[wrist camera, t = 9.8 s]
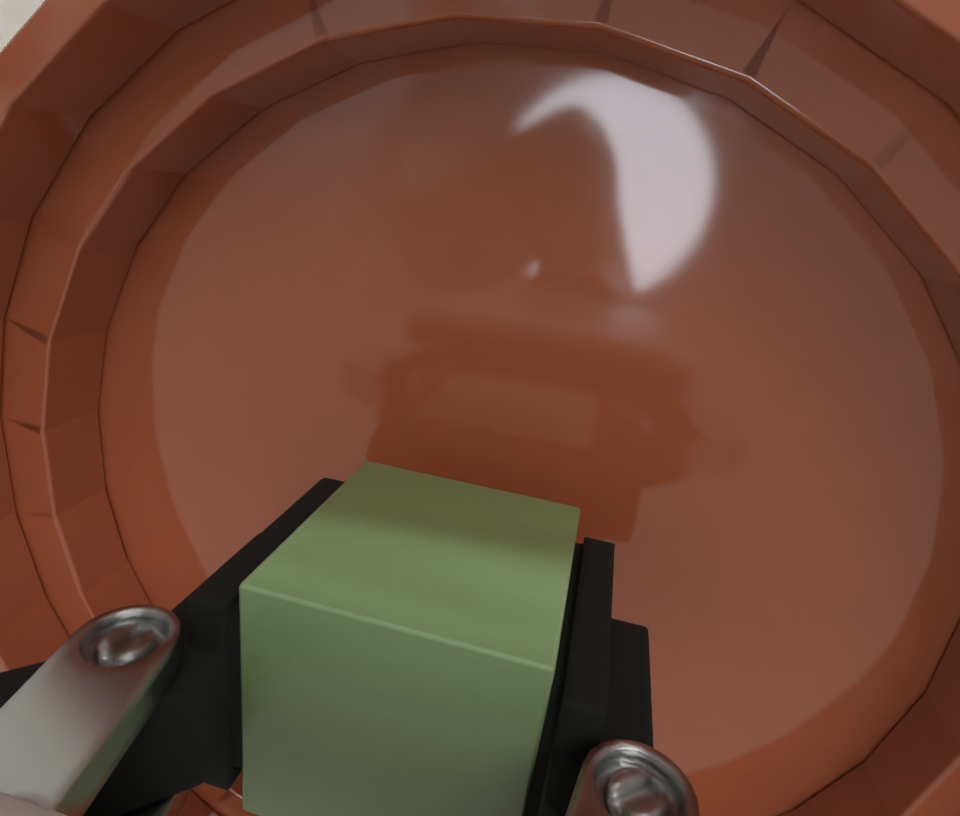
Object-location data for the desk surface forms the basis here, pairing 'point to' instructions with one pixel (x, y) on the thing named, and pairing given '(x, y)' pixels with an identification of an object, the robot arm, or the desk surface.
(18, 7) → the desk surface
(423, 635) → the block
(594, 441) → the bowl
